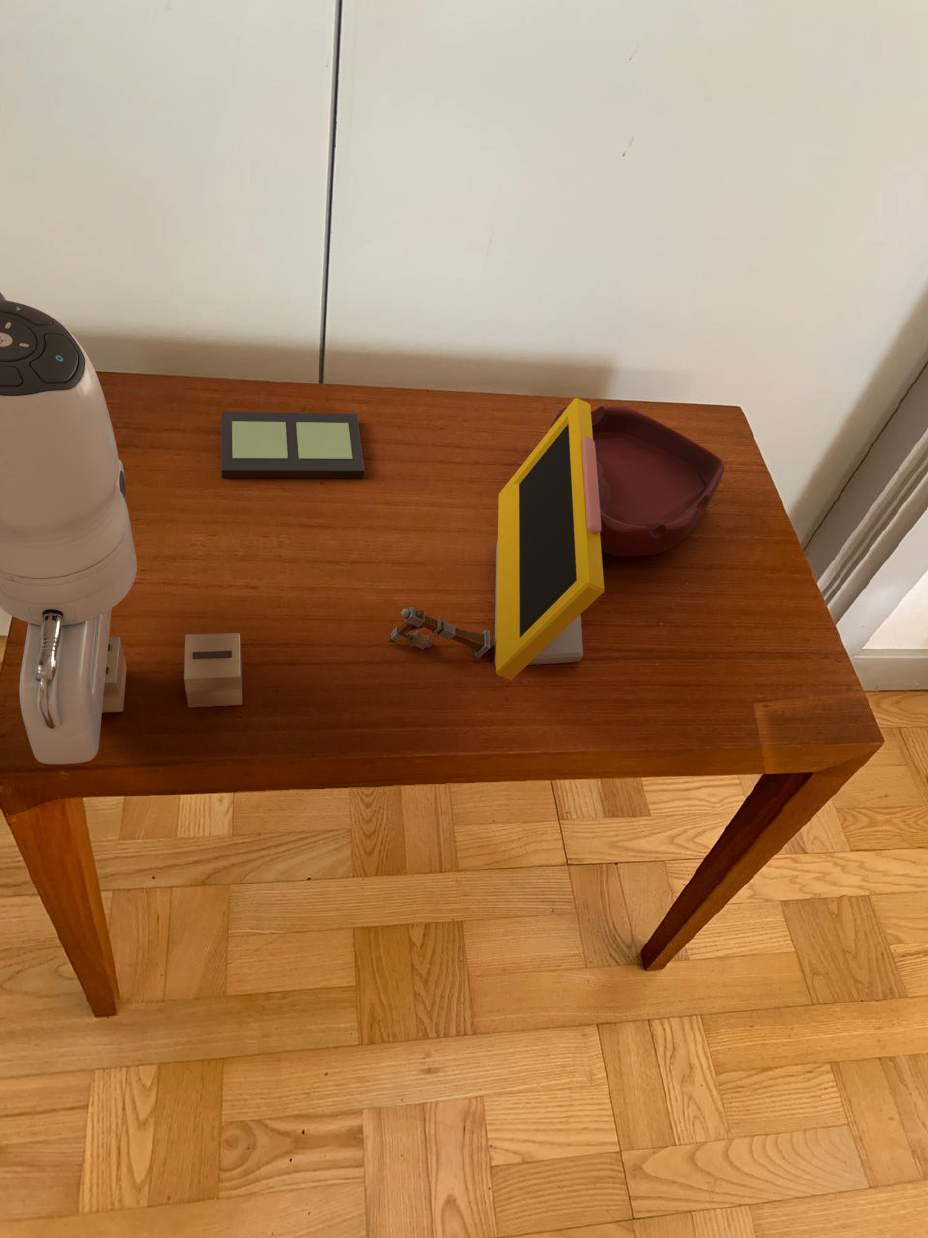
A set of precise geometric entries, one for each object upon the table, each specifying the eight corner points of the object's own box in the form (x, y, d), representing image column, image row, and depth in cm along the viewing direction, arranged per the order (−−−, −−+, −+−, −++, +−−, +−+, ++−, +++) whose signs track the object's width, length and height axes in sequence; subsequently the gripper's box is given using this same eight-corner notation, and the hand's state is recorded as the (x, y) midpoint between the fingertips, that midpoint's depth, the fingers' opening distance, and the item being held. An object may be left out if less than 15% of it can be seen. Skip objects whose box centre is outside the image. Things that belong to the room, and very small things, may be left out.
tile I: (188, 707, 70) (183, 678, 67) (189, 664, 72) (184, 633, 69) (242, 705, 71) (240, 675, 68) (241, 662, 73) (239, 631, 70)
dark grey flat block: (221, 478, 85) (221, 469, 84) (221, 419, 89) (221, 410, 89) (363, 478, 88) (364, 469, 87) (356, 421, 92) (357, 412, 91)
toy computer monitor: (491, 519, 87) (526, 385, 75) (573, 530, 88) (621, 399, 75) (487, 699, 75) (528, 574, 62) (582, 709, 75) (641, 588, 63)
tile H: (65, 714, 68) (55, 683, 64) (70, 669, 70) (61, 637, 67) (123, 712, 68) (115, 681, 65) (126, 667, 71) (119, 635, 68)
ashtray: (741, 564, 88) (763, 528, 85) (582, 574, 84) (596, 537, 81) (678, 436, 99) (695, 399, 95) (533, 440, 95) (544, 402, 91)
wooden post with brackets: (379, 626, 76) (407, 597, 73) (461, 655, 80) (491, 628, 77) (378, 644, 75) (406, 615, 72) (461, 673, 79) (491, 646, 76)
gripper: (99, 694, 52) (129, 804, 63) (124, 442, 64) (145, 572, 75) (-24, 698, 50) (28, 810, 61) (25, 441, 62) (61, 572, 73)
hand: (93, 677), depth 68 cm, fingers closed on tile H, 4 cm apart
